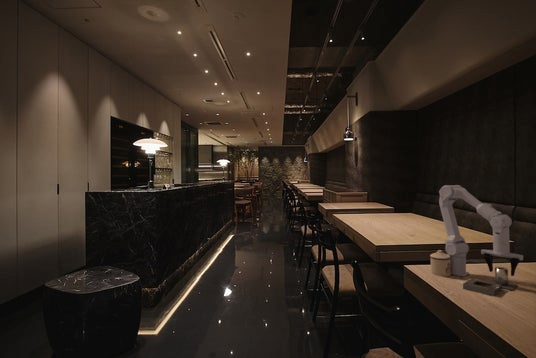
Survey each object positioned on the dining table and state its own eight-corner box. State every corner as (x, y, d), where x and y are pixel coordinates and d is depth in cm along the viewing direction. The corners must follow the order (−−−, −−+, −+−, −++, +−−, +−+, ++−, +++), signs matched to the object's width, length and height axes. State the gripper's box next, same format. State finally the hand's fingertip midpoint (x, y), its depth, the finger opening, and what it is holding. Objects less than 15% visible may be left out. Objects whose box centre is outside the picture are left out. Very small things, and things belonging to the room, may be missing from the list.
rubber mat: (486, 285, 133) (486, 283, 133) (492, 280, 138) (492, 279, 138) (512, 290, 126) (511, 289, 126) (517, 286, 131) (517, 284, 131)
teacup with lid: (450, 278, 143) (449, 253, 143) (429, 275, 149) (428, 251, 149) (453, 270, 153) (452, 247, 153) (433, 268, 158) (431, 246, 158)
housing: (463, 288, 129) (462, 283, 129) (472, 283, 136) (472, 278, 136) (494, 296, 120) (494, 290, 120) (502, 289, 127) (502, 284, 127)
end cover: (493, 284, 132) (493, 267, 133) (497, 281, 135) (496, 265, 135) (506, 286, 129) (506, 270, 129) (509, 284, 132) (509, 268, 132)
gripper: (478, 241, 135) (479, 271, 135) (519, 246, 124) (520, 279, 124) (483, 239, 140) (484, 268, 140) (524, 244, 128) (524, 275, 128)
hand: (501, 273), depth 132 cm, fingers open, 7 cm apart
